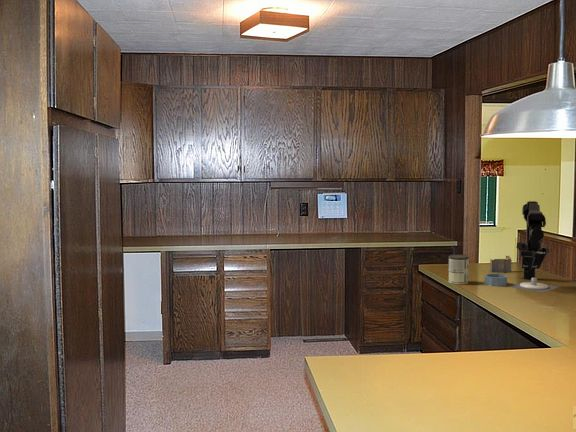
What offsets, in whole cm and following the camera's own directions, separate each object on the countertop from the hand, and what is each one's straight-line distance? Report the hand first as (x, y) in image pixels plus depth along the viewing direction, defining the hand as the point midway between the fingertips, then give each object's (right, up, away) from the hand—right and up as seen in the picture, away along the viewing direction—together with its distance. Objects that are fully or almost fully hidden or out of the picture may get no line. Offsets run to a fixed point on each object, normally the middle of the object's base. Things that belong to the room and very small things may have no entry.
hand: (534, 268), depth 298 cm
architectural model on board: (-1, -7, +45) cm, 45 cm away
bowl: (-16, -10, +9) cm, 21 cm away
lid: (0, -9, +1) cm, 9 cm away
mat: (0, -10, +1) cm, 10 cm away
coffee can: (-34, -9, +17) cm, 38 cm away
